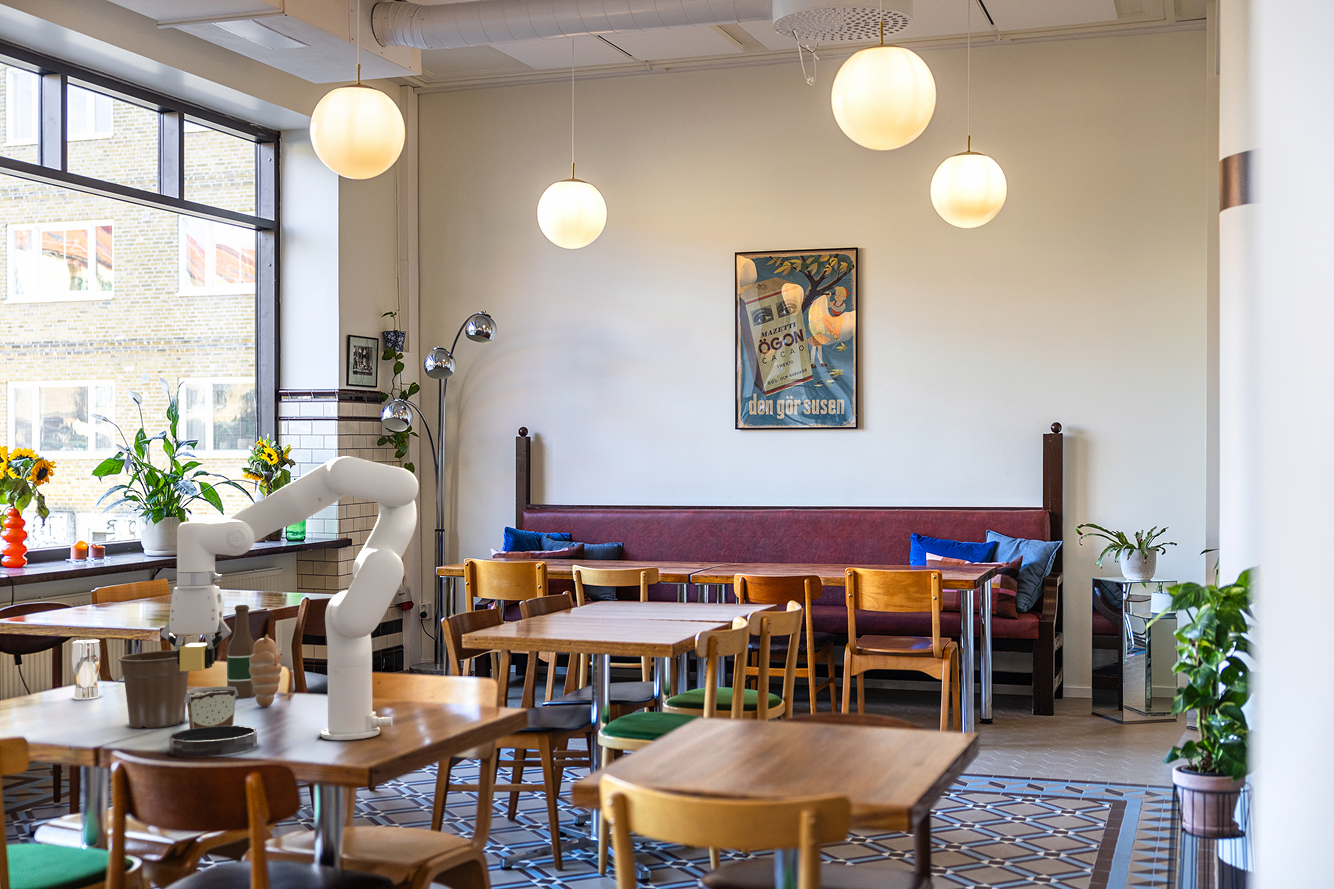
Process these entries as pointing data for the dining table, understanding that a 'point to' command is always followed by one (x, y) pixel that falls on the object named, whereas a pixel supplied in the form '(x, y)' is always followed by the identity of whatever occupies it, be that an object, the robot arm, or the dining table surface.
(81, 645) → the beer glass
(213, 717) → the food container
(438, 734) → the dining table surface
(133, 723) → the plant pot
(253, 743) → the round cake pan
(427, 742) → the dining table surface
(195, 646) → the cheese
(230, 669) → the beer bottle
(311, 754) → the dining table surface
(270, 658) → the tan ribbed tapered piece
